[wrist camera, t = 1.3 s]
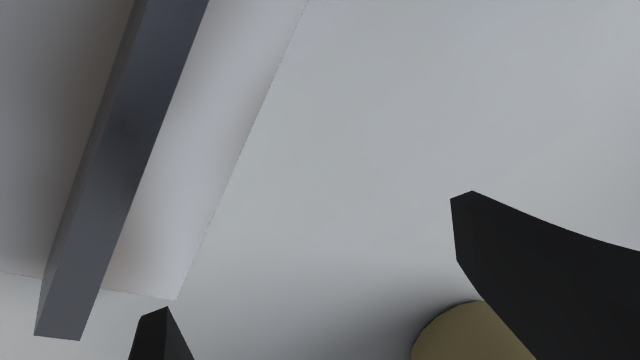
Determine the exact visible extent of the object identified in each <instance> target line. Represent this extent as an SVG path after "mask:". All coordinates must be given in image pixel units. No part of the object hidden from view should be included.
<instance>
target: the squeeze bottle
mask: <svg viewBox="0 0 640 360" xmlns="http://www.w3.org/2000/svg"><path fill="white" fill-rule="evenodd" d="M410 360H536V358H535V357H534V356H533V355H532V354H531V353H530V352H529V350H528V349H527V348H526V347H525V346H524V345H523V344H522V342H521V341H520V340H519V339H518V338H517V337H516V336H515V335H514V333H513V332H512V331H511V330H510V329H509V328H508V327H507V325H506V324H505V323H504V322H503V321H502V320H501V319H500V318H499V316H498V315H497V314H496V313H495V312H494V311H493V310H492V308H491V307H490V306H489V305H488V304H487V303H486V302H484V301H475V302H470V303H465V304H460V305H458V306H456V307H454V308H452V309H450V310H448V311H446V312H444V313H442V314H440V315H439V316H438V317H436V318H435V319H434V320H433V321H432V322H431V323H430V324H429V325H428V326H427V327H426V328H424V329H423V330H422V332H421V333H420V335H419V337H418V338H417V340H416V342H415V343H414V345H413V347H412V349H411V355H410Z"/></svg>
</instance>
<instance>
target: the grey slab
mask: <svg viewBox="0 0 640 360" xmlns="http://www.w3.org/2000/svg"><path fill="white" fill-rule="evenodd" d="M134 1H135V0H0V272H4V273H10V274H16V275H22V276H28V277H34V278H41V279H43V274H44V269H45V266H46V263H47V260H48V257H49V254H50V251H51V248H52V245H53V242H54V239H55V236H56V233H57V230H58V227H59V224H60V221H61V218H62V215H63V212H64V209H65V206H66V203H67V200H68V197H69V194H70V191H71V188H72V185H73V182H74V179H75V176H76V173H77V170H78V167H79V165H80V162H81V159H82V156H83V153H84V150H85V147H86V144H87V141H88V138H89V135H90V132H91V129H92V126H93V123H94V120H95V117H96V114H97V111H98V108H99V105H100V102H101V99H102V96H103V93H104V90H105V87H106V84H107V81H108V78H109V75H110V72H111V69H112V66H113V63H114V60H115V57H116V54H117V51H118V49H119V46H120V43H121V40H122V37H123V34H124V31H125V28H126V25H127V22H128V19H129V16H130V13H131V10H132V7H133V4H134ZM307 1H308V0H209V3H208V5H207V8H206V10H205V13H204V16H203V18H202V21H201V24H200V26H199V29H198V31H197V34H196V37H195V39H194V42H193V45H192V47H191V50H190V52H189V55H188V58H187V60H186V63H185V66H184V68H183V71H182V73H181V76H180V79H179V81H178V84H177V87H176V89H175V92H174V94H173V97H172V100H171V102H170V105H169V108H168V110H167V113H166V115H165V118H164V121H163V123H162V126H161V129H160V131H159V134H158V136H157V139H156V142H155V144H154V147H153V150H152V152H151V155H150V157H149V160H148V163H147V165H146V168H145V171H144V173H143V176H142V178H141V181H140V184H139V186H138V189H137V192H136V194H135V197H134V199H133V202H132V205H131V207H130V210H129V213H128V215H127V218H126V220H125V223H124V226H123V228H122V231H121V234H120V236H119V239H118V241H117V244H116V247H115V249H114V252H113V255H112V257H111V260H110V262H109V265H108V268H107V270H106V273H105V276H104V278H103V281H102V283H101V286H100V288H102V289H108V290H114V291H120V292H126V293H133V294H139V295H145V296H151V297H157V298H163V299H169V300H176V299H177V297H178V294H179V292H180V290H181V288H182V285H183V283H184V281H185V279H186V276H187V274H188V272H189V269H190V267H191V265H192V263H193V260H194V258H195V256H196V254H197V251H198V249H199V247H200V244H201V242H202V240H203V238H204V235H205V233H206V231H207V229H208V226H209V224H210V222H211V219H212V217H213V215H214V213H215V210H216V208H217V206H218V204H219V201H220V199H221V197H222V194H223V192H224V190H225V188H226V185H227V183H228V181H229V179H230V176H231V174H232V172H233V169H234V167H235V165H236V163H237V160H238V158H239V156H240V154H241V151H242V149H243V147H244V144H245V142H246V140H247V138H248V135H249V133H250V131H251V129H252V126H253V124H254V122H255V119H256V117H257V115H258V113H259V110H260V108H261V106H262V104H263V101H264V99H265V97H266V94H267V92H268V90H269V88H270V85H271V83H272V81H273V79H274V76H275V74H276V72H277V69H278V67H279V65H280V63H281V60H282V58H283V56H284V54H285V51H286V49H287V47H288V44H289V42H290V40H291V38H292V35H293V33H294V31H295V29H296V26H297V24H298V22H299V19H300V17H301V15H302V13H303V10H304V8H305V6H306V4H307Z"/></svg>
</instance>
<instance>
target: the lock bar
mask: <svg viewBox="0 0 640 360" xmlns="http://www.w3.org/2000/svg"><path fill="white" fill-rule="evenodd" d="M208 3H209V0H135V1H134V4H133V7H132V10H131V13H130V16H129V19H128V22H127V25H126V28H125V31H124V34H123V37H122V40H121V43H120V46H119V49H118V51H117V54H116V57H115V60H114V63H113V66H112V69H111V72H110V75H109V78H108V81H107V84H106V87H105V90H104V93H103V96H102V99H101V102H100V105H99V108H98V111H97V114H96V117H95V120H94V123H93V126H92V129H91V132H90V135H89V138H88V141H87V144H86V147H85V150H84V153H83V156H82V159H81V162H80V165H79V167H78V170H77V173H76V176H75V179H74V182H73V185H72V188H71V191H70V194H69V197H68V200H67V203H66V206H65V209H64V212H63V215H62V218H61V221H60V224H59V227H58V230H57V233H56V236H55V239H54V242H53V245H52V248H51V251H50V254H49V257H48V260H47V263H46V266H45V269H44V274H43V280H42V286H41V292H40V299H39V305H38V311H37V317H36V323H35V329H34V336H43V337H51V338H59V339H68V340H76V341H80V339H81V336H82V333H83V331H84V328H85V325H86V323H87V320H88V318H89V315H90V312H91V310H92V307H93V304H94V302H95V299H96V297H97V294H98V291H99V289H100V286H101V283H102V281H103V278H104V276H105V273H106V270H107V268H108V265H109V262H110V260H111V257H112V255H113V252H114V249H115V247H116V244H117V241H118V239H119V236H120V234H121V231H122V228H123V226H124V223H125V220H126V218H127V215H128V213H129V210H130V207H131V205H132V202H133V199H134V197H135V194H136V192H137V189H138V186H139V184H140V181H141V178H142V176H143V173H144V171H145V168H146V165H147V163H148V160H149V157H150V155H151V152H152V150H153V147H154V144H155V142H156V139H157V136H158V134H159V131H160V129H161V126H162V123H163V121H164V118H165V115H166V113H167V110H168V108H169V105H170V102H171V100H172V97H173V94H174V92H175V89H176V87H177V84H178V81H179V79H180V76H181V73H182V71H183V68H184V66H185V63H186V60H187V58H188V55H189V52H190V50H191V47H192V45H193V42H194V39H195V37H196V34H197V31H198V29H199V26H200V24H201V21H202V18H203V16H204V13H205V10H206V8H207V5H208Z"/></svg>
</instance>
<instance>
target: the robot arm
mask: <svg viewBox="0 0 640 360" xmlns="http://www.w3.org/2000/svg"><path fill="white" fill-rule="evenodd" d="M450 203H451V212H452V221H453V231H454V240H455V249H456V259H457V262H458V263H459V265H460V267H461V268H462V270H463V271H464V273H465V274H466V276H467V277H468V279H469V280H470V282H471V283H472V285H473V286H474V288H475V289H476V291H477V292H478V293H479V294H480V296H481V297H482V298H483V299H484V300H485V301H486V303H487V304H488V305H489V306H490V307H491V308H492V310H493V311H494V312H495V313H496V314H497V315H498V316H499V318H500V319H501V320H502V321H503V322H504V323H505V324H506V325H507V327H508V328H509V329H510V330H511V331H512V332H513V333H514V335H515V336H516V337H517V338H518V339H519V340H520V341H521V342H522V344H523V345H524V346H525V347H526V348H527V349H528V350H529V352H530V353H531V354H532V355H533V356H534V357H535V358H536V360H640V251H636V250H632V249H628V248H625V247H621V246H617V245H614V244H610V243H606V242H603V241H600V240H596V239H593V238H590V237H587V236H584V235H581V234H578V233H576V232H573V231H570V230H567V229H564V228H561V227H559V226H556V225H553V224H551V223H548V222H546V221H543V220H541V219H538V218H536V217H533V216H531V215H529V214H526V213H524V212H521V211H519V210H517V209H514V208H512V207H510V206H507V205H505V204H503V203H501V202H498V201H496V200H494V199H491V198H489V197H487V196H484V195H482V194H480V193H477V192H475V191H470V192H467V193H464V194H462V195H459V196H456V197H454V198H451V199H450ZM128 360H194V358H193V356H192V354H191V352H190V350H189V348H188V346H187V344H186V342H185V340H184V338H183V336H182V334H181V332H180V330H179V328H178V326H177V324H176V322H175V320H174V318H173V316H172V314H171V312H170V310H169V308H168V306H167V307H164V308H161V309H159V310H156V311H154V312H151V313H148V314H146V315H143V316H141V318H140V320H139V322H138V326H137V330H136V334H135V337H134V341H133V345H132V348H131V351H130V355H129V358H128Z"/></svg>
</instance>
